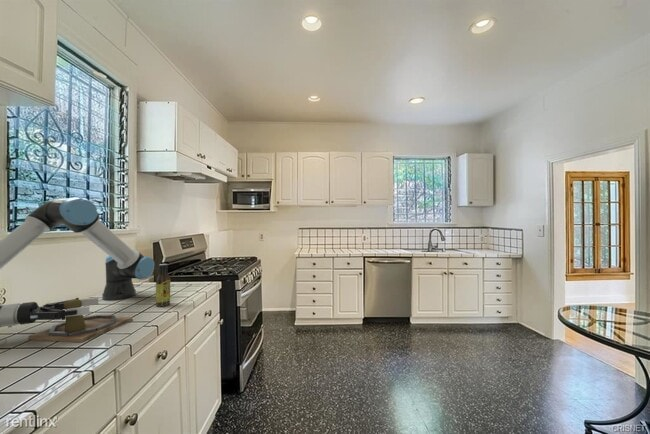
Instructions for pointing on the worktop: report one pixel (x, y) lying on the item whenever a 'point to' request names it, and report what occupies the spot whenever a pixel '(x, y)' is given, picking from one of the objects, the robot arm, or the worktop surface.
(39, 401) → the worktop surface
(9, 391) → the worktop surface
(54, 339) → the walnut board
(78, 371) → the worktop surface
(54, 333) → the steel ring
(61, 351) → the worktop surface
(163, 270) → the sauce bottle
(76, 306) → the cork
